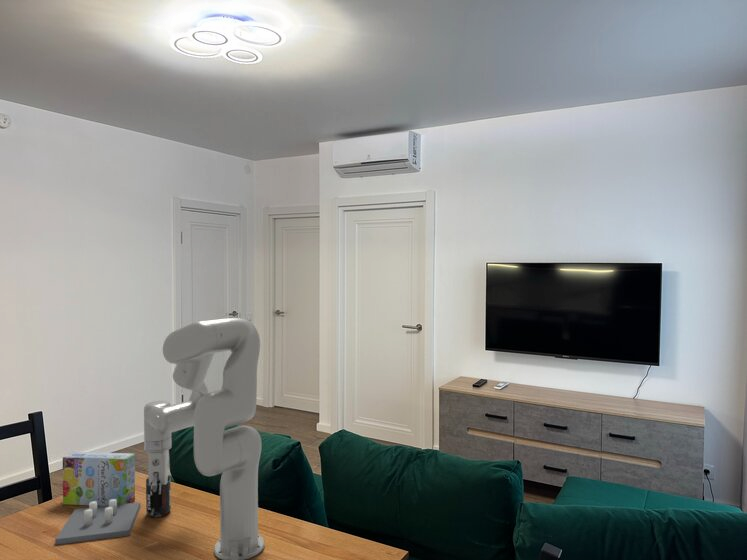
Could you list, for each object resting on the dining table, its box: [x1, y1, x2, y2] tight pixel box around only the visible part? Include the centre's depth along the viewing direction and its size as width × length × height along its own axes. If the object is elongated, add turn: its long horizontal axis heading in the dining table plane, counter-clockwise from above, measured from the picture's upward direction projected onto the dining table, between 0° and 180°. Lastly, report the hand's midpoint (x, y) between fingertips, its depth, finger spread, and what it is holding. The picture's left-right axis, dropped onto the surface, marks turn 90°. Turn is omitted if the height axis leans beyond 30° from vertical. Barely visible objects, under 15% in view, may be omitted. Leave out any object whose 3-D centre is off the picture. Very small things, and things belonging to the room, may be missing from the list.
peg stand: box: [54, 499, 141, 545], centre depth 149 cm, size 18×18×6 cm
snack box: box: [62, 451, 136, 507], centre depth 163 cm, size 21×6×15 cm, turn 84°
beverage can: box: [145, 475, 172, 518], centre depth 156 cm, size 7×7×12 cm
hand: (158, 500), depth 156 cm, fingers open, 9 cm apart
